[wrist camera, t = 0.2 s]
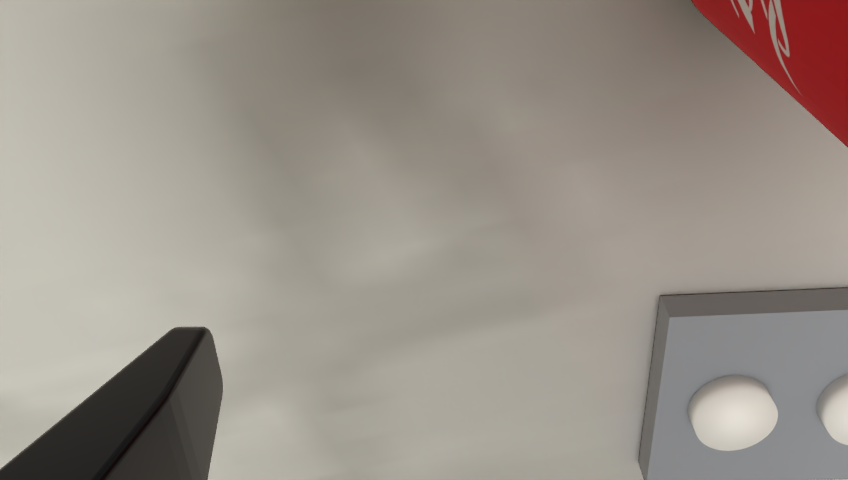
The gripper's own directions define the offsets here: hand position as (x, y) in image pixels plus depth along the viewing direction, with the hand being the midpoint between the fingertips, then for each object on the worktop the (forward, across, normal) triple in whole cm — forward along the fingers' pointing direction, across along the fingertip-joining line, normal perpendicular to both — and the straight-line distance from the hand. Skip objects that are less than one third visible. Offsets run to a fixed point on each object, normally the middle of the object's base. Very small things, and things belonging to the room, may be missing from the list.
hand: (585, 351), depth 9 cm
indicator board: (+14, -13, +14) cm, 24 cm away
